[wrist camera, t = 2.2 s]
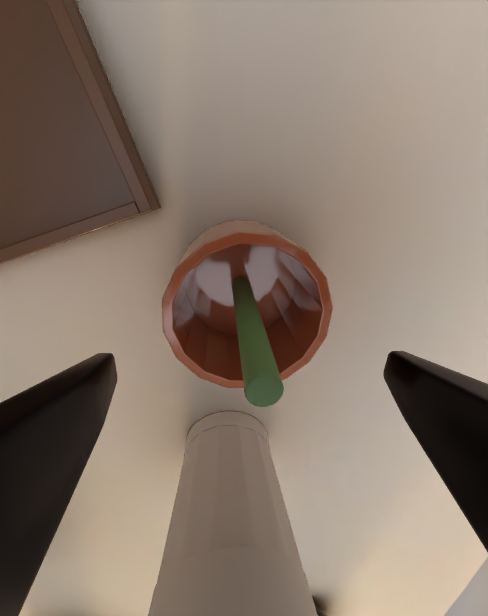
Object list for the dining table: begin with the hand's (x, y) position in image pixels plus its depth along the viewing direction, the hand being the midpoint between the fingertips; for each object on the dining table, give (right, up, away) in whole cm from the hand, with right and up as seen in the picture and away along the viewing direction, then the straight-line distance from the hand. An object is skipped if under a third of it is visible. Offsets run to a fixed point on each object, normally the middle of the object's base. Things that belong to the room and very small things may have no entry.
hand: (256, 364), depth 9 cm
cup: (-2, -9, +13) cm, 16 cm away
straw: (-1, +3, +7) cm, 8 cm away
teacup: (-1, +3, +8) cm, 9 cm away
